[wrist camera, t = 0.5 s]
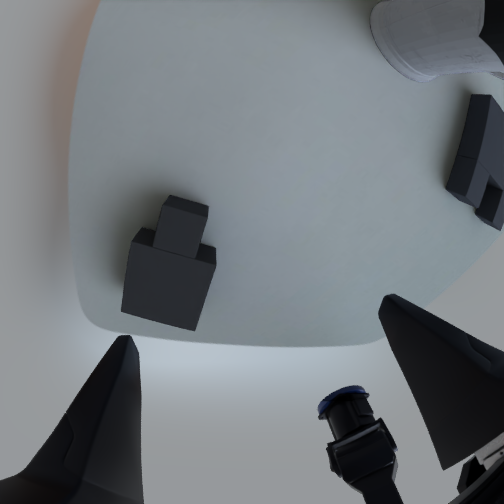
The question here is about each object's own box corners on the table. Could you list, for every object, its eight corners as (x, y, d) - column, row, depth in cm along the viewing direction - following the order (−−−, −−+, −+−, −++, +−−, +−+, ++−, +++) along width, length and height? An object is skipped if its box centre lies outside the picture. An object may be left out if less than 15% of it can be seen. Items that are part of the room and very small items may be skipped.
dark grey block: (484, 222, 24) (500, 231, 21) (445, 189, 22) (465, 196, 19) (507, 141, 20) (524, 145, 17) (471, 93, 18) (491, 94, 15)
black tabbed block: (228, 211, 20) (230, 224, 17) (196, 309, 23) (194, 331, 20) (150, 189, 19) (140, 197, 16) (129, 291, 22) (120, 311, 19)
